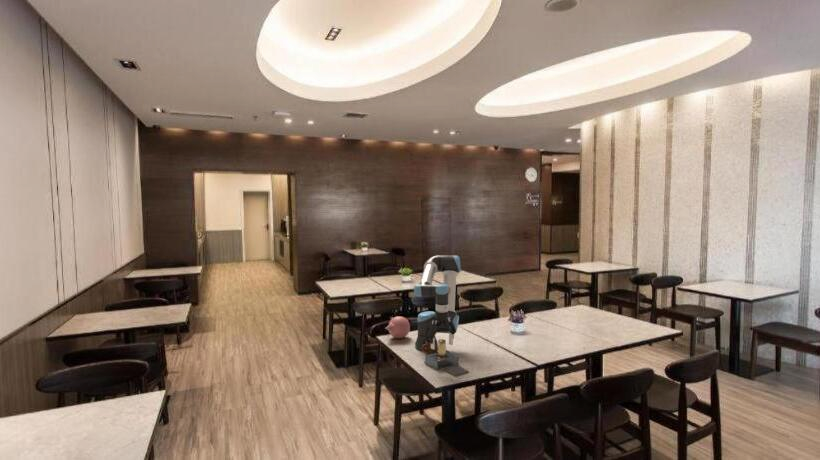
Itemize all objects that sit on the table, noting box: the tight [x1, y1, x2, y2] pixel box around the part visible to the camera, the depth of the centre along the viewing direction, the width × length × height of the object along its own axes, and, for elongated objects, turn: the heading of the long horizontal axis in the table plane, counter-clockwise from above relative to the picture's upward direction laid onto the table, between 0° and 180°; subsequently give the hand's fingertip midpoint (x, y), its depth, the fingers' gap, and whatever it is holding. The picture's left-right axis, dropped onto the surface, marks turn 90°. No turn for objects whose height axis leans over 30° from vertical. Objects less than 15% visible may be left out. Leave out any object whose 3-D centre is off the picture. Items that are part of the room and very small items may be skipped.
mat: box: [443, 364, 470, 377], centre depth 226 cm, size 10×10×1 cm
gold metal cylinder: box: [437, 338, 447, 358], centre depth 237 cm, size 4×4×14 cm
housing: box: [424, 349, 460, 371], centre depth 237 cm, size 12×16×5 cm
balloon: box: [384, 315, 411, 340], centre depth 283 cm, size 15×20×15 cm
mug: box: [421, 339, 438, 356], centre depth 248 cm, size 12×8×9 cm, turn 133°
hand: (441, 346), depth 236 cm, fingers open, 13 cm apart
